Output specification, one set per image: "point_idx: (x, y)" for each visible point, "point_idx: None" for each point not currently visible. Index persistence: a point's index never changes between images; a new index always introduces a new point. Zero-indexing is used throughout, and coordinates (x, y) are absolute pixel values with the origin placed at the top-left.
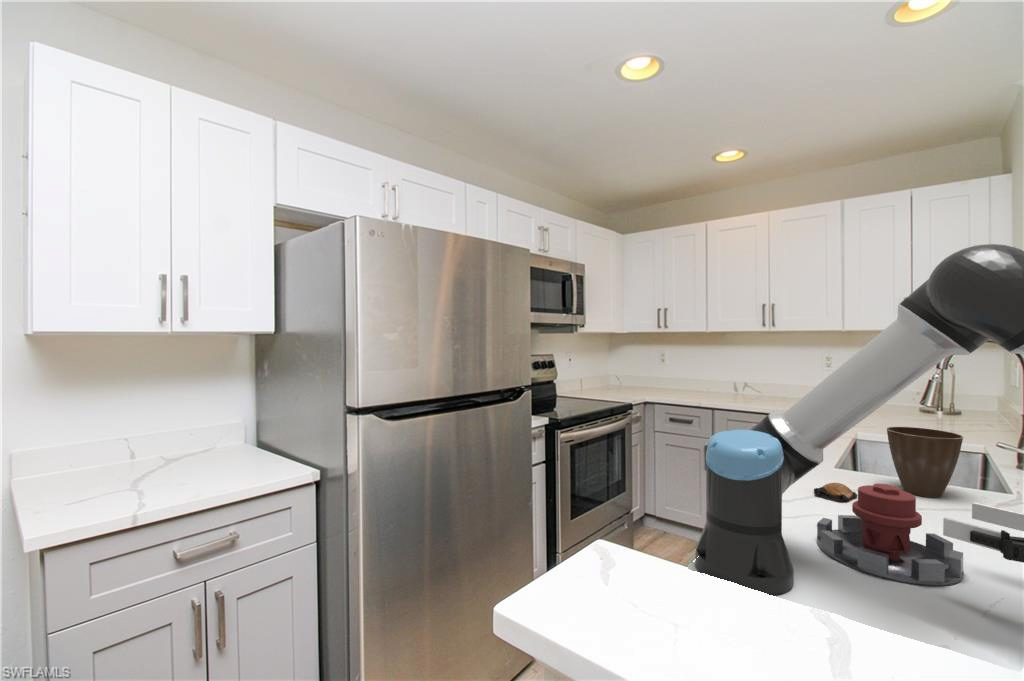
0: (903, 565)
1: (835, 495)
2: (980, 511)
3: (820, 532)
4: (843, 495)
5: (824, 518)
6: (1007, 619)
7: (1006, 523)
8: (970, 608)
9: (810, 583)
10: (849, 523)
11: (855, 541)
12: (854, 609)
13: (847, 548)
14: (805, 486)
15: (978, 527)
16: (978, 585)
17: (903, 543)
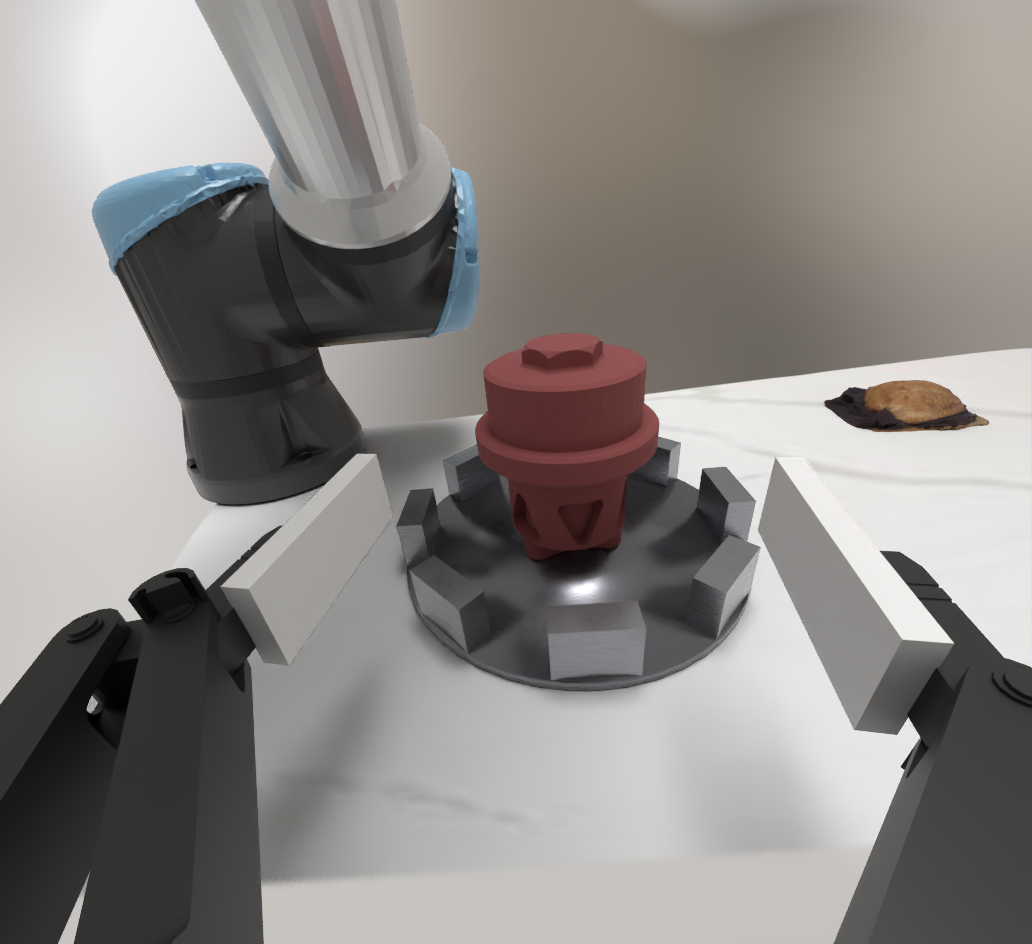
0: (514, 572)
1: (871, 409)
2: (779, 509)
3: None
4: (881, 411)
5: None
6: (298, 853)
7: (814, 619)
8: (332, 741)
9: (292, 512)
10: None
11: None
12: (197, 573)
13: None
14: (869, 385)
15: (290, 522)
16: (572, 735)
17: (535, 521)
